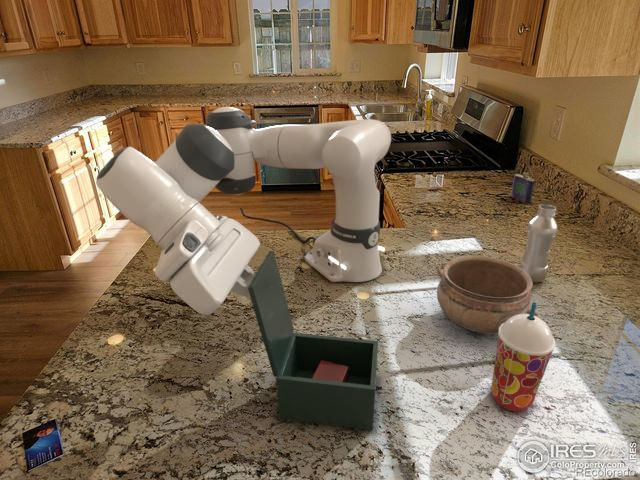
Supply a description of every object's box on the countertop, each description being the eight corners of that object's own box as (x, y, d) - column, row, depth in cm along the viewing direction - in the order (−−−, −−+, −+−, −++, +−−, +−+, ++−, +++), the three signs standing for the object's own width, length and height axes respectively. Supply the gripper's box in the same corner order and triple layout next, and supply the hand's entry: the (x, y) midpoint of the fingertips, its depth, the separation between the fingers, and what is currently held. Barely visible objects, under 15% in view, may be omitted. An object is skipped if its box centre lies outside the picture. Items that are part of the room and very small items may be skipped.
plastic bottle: (548, 286, 107) (567, 213, 98) (519, 284, 108) (536, 211, 99) (541, 274, 112) (559, 203, 104) (514, 271, 114) (529, 201, 105)
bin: (376, 378, 79) (378, 340, 75) (372, 430, 68) (375, 389, 65) (293, 369, 81) (292, 332, 77) (278, 418, 71) (275, 378, 67)
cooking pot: (406, 310, 98) (410, 263, 93) (460, 285, 108) (467, 242, 103) (501, 373, 80) (513, 320, 74) (556, 336, 89) (570, 287, 84)
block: (311, 401, 73) (311, 379, 71) (321, 381, 77) (321, 359, 75) (339, 408, 72) (339, 386, 69) (348, 387, 76) (348, 366, 74)
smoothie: (494, 375, 79) (515, 283, 71) (542, 396, 75) (570, 300, 66) (478, 402, 74) (497, 306, 65) (528, 427, 69) (557, 327, 60)
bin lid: (273, 250, 70) (269, 250, 71) (252, 287, 60) (247, 287, 60) (294, 330, 77) (289, 330, 77) (278, 376, 67) (273, 376, 67)
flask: (508, 196, 166) (513, 169, 162) (514, 195, 167) (520, 169, 162) (526, 204, 158) (532, 176, 154) (532, 203, 159) (539, 175, 155)
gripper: (208, 222, 76) (265, 273, 78) (148, 281, 57) (225, 346, 60) (229, 199, 73) (287, 254, 76) (173, 254, 55) (252, 323, 58)
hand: (259, 295), depth 68 cm, fingers closed
